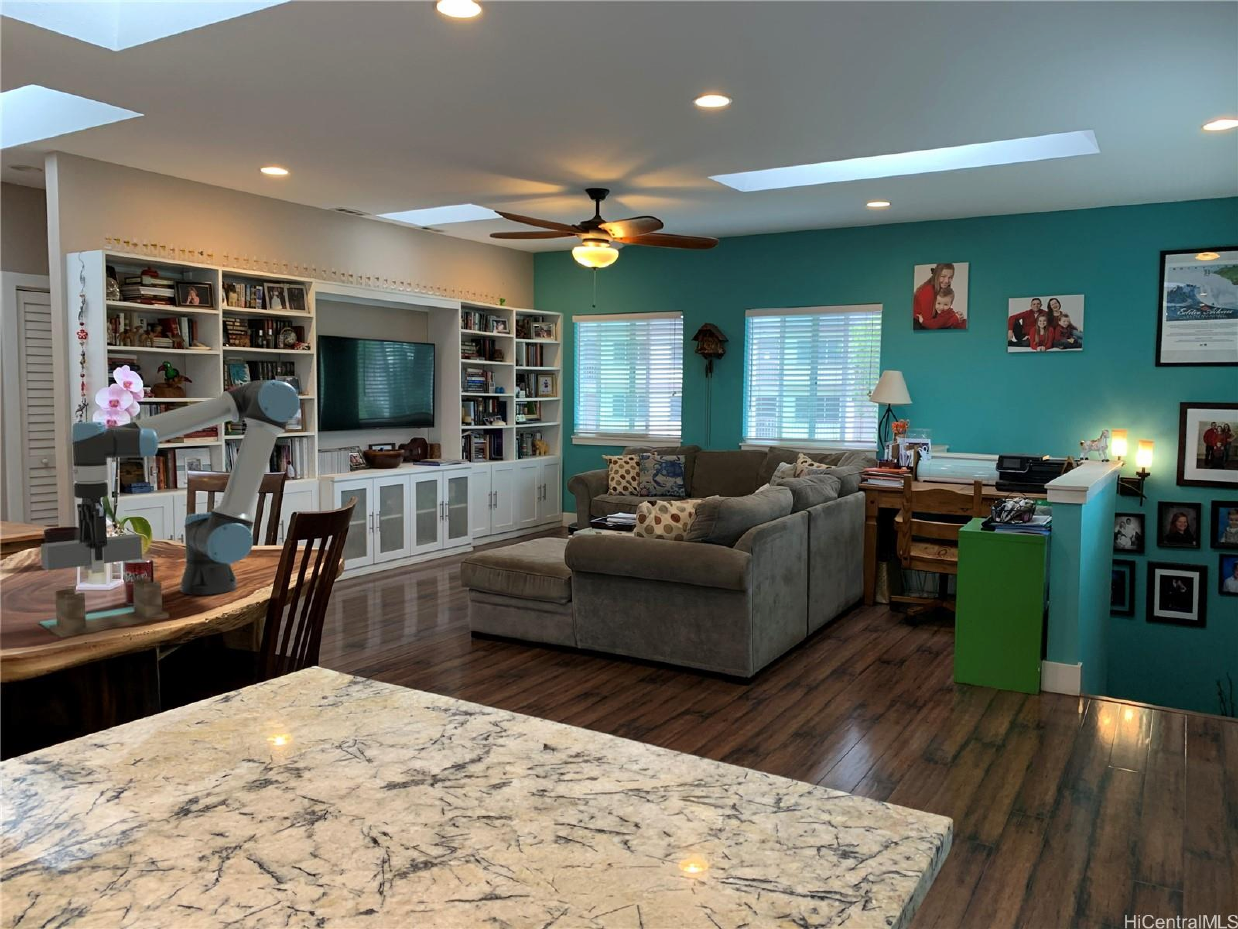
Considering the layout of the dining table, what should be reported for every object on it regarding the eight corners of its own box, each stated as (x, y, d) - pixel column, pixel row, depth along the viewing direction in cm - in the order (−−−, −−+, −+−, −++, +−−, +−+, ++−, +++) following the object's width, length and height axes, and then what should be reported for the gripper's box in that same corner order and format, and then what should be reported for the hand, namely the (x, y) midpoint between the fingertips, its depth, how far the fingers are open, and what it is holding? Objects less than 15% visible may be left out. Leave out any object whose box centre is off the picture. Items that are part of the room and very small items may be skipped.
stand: (155, 612, 240) (154, 576, 239) (169, 617, 235) (167, 581, 234) (49, 630, 221) (47, 591, 220) (61, 637, 216) (59, 597, 215)
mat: (139, 606, 246) (139, 605, 246) (149, 611, 241) (149, 609, 241) (39, 623, 228) (39, 622, 228) (48, 628, 223) (48, 627, 223)
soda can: (142, 606, 246) (140, 563, 245) (119, 605, 247) (117, 562, 246) (160, 600, 253) (159, 558, 252) (138, 598, 254) (136, 557, 253)
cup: (44, 569, 292) (42, 532, 291) (48, 561, 304) (46, 526, 303) (79, 566, 297) (78, 530, 296) (82, 559, 309) (80, 524, 308)
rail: (134, 556, 243) (133, 534, 242) (142, 558, 240) (141, 536, 239) (41, 567, 226) (40, 544, 226) (48, 570, 223) (47, 546, 223)
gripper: (62, 480, 234) (65, 568, 236) (87, 485, 222) (90, 578, 224) (93, 478, 240) (96, 564, 242) (120, 483, 228) (123, 574, 230)
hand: (93, 570), depth 233 cm, fingers closed on rail, 5 cm apart
